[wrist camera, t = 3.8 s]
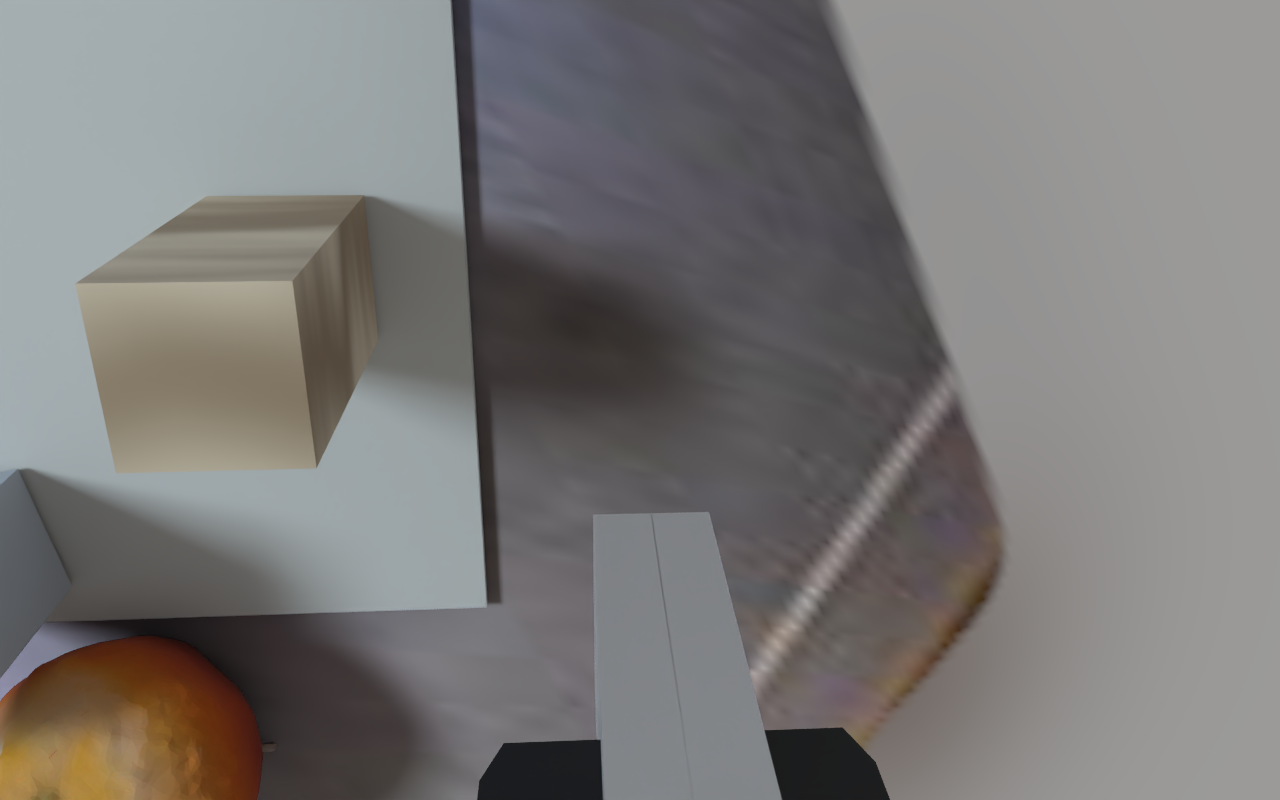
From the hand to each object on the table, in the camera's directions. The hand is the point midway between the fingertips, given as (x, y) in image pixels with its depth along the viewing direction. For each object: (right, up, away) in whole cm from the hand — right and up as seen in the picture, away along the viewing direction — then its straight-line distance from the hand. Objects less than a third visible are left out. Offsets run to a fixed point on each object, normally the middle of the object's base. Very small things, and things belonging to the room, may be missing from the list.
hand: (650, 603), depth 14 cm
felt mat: (-14, +5, +15) cm, 21 cm away
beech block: (-9, +6, +14) cm, 18 cm away
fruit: (-15, -7, +20) cm, 26 cm away
